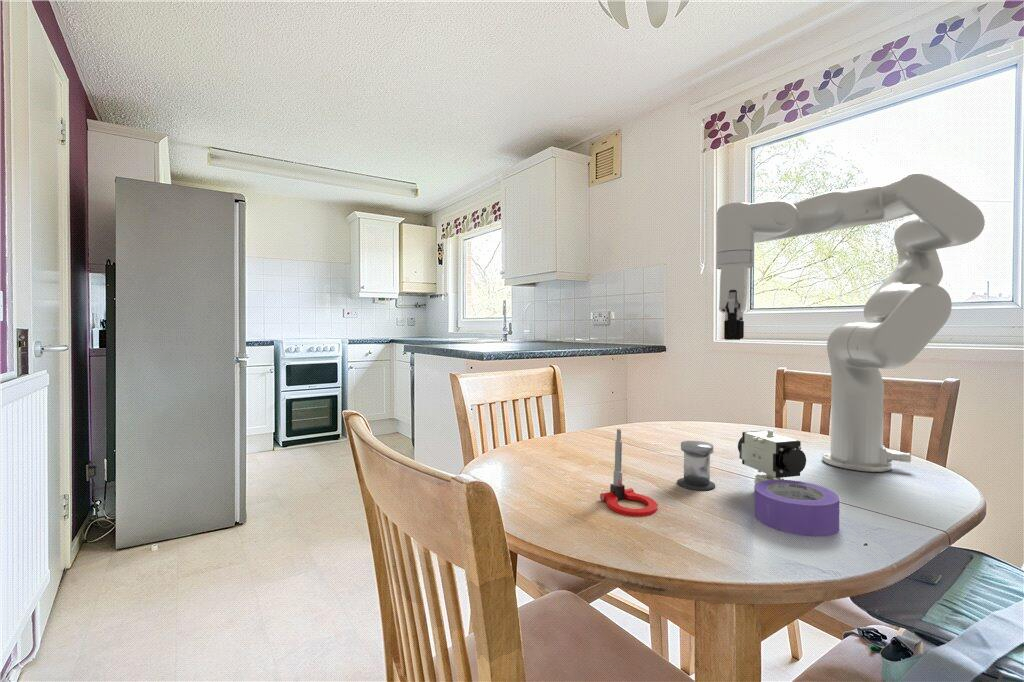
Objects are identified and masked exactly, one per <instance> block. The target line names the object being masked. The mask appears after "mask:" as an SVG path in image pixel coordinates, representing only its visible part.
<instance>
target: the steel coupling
mask: <svg viewBox="0 0 1024 682" xmlns="http://www.w3.org/2000/svg"><path fill="white" fill-rule="evenodd" d="M680 450H681V452H683V478H684V483H686V484H688V485H691V486H698V487H704V486H708V485H710V481H711V480H710V479H711V475H710V473H711V454H714V444H712V443H710V442H706V441H701V440H685V441H683V440H682V441H681V442H680Z"/></svg>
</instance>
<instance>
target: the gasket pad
mask: <svg viewBox="0 0 1024 682" xmlns="http://www.w3.org/2000/svg"><path fill="white" fill-rule="evenodd" d="M676 483H677V485H678V486H679V487H681V488H684V489H687V490H692V491H700V492H701V491H702V492H703V491H705V492H707V491H711V490H715V488H716V483H715V482H712V481H711V480H710V485H708V486H704V487H698V486H691V485H688V484H686V483H684V477H681V478H679V479H677V481H676Z"/></svg>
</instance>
